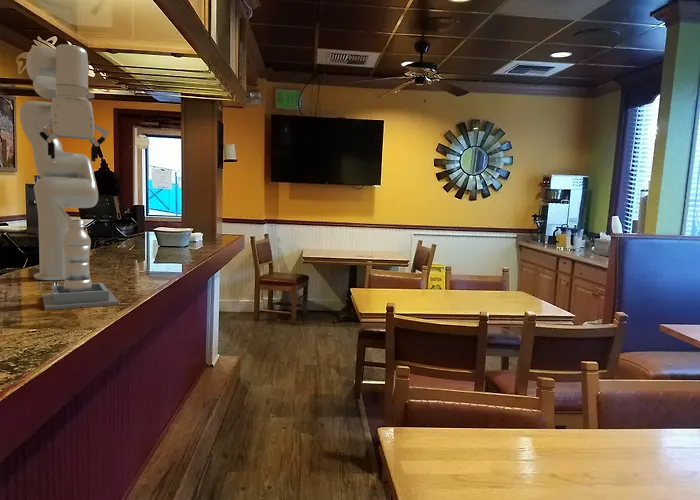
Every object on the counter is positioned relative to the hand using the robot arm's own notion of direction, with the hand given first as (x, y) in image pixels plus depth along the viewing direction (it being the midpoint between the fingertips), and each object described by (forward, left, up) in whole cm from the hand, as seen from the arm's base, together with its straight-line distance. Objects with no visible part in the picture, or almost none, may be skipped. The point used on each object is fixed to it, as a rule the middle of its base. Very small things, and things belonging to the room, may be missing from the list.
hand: (73, 159), depth 136 cm
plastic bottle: (+12, 0, -36) cm, 37 cm away
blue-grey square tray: (+12, 0, -36) cm, 38 cm away
